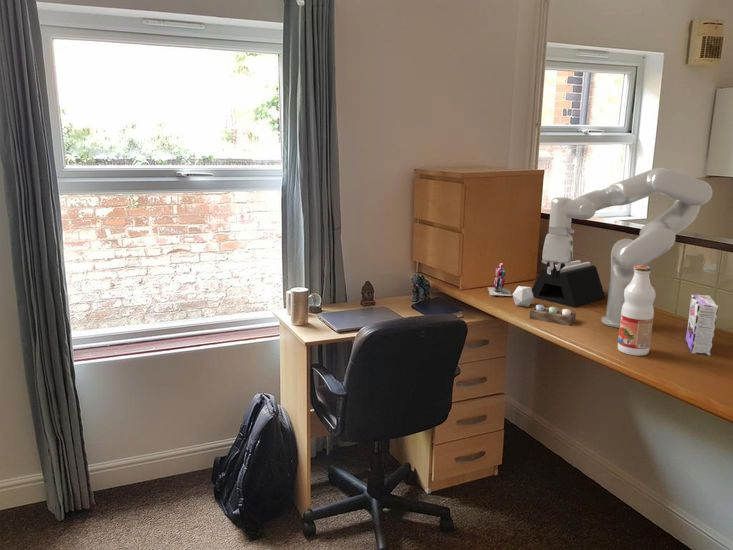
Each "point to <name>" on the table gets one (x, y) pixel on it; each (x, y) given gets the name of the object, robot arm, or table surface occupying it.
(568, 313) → the cream button
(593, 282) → the device stand
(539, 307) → the slate blue button
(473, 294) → the table surface
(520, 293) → the die
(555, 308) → the sage button
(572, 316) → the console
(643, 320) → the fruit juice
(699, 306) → the candy box
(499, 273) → the statue
